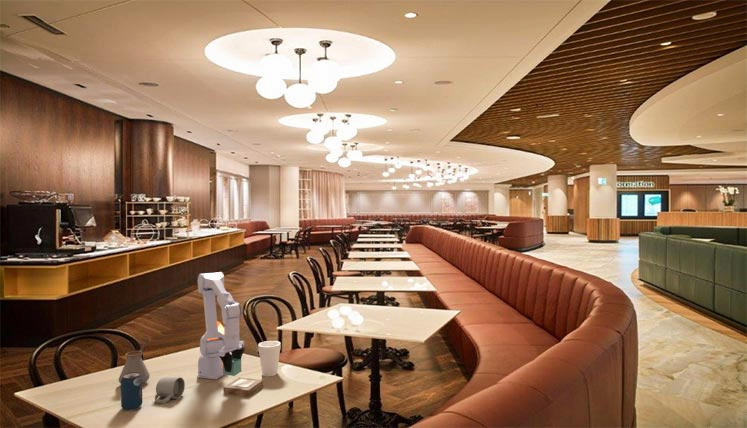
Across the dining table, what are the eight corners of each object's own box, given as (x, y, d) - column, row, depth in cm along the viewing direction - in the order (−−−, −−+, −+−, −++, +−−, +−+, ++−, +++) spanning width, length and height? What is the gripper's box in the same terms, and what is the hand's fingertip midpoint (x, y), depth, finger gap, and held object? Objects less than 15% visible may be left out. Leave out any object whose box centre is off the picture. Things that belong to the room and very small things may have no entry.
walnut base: (223, 394, 189) (223, 386, 189) (239, 384, 199) (239, 376, 199) (248, 398, 185) (248, 389, 185) (263, 387, 196) (263, 379, 196)
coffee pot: (143, 389, 193) (142, 351, 193) (113, 390, 192) (112, 352, 192) (162, 370, 215) (161, 336, 214) (135, 371, 214) (134, 337, 213)
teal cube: (223, 374, 189) (222, 361, 188) (230, 370, 193) (230, 357, 193) (234, 375, 187) (234, 363, 187) (241, 371, 192) (241, 359, 192)
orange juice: (222, 360, 228) (221, 317, 228) (229, 365, 222) (229, 321, 221) (205, 363, 223) (204, 320, 223) (212, 368, 217) (212, 324, 216)
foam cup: (283, 370, 214) (283, 341, 214) (277, 377, 205) (277, 347, 205) (262, 369, 215) (262, 340, 215) (255, 377, 206) (255, 346, 206)
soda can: (145, 407, 176) (145, 374, 176) (125, 413, 171) (125, 379, 171) (137, 401, 181) (137, 370, 181) (118, 407, 176) (117, 375, 176)
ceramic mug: (166, 392, 190) (166, 372, 190) (185, 393, 189) (185, 374, 188) (148, 403, 180) (148, 383, 180) (168, 405, 178) (168, 385, 178)
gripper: (229, 340, 182) (230, 376, 182) (250, 330, 196) (251, 364, 196) (213, 339, 184) (214, 374, 184) (235, 329, 198) (236, 362, 198)
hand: (232, 369), depth 190 cm, fingers closed on teal cube, 5 cm apart
